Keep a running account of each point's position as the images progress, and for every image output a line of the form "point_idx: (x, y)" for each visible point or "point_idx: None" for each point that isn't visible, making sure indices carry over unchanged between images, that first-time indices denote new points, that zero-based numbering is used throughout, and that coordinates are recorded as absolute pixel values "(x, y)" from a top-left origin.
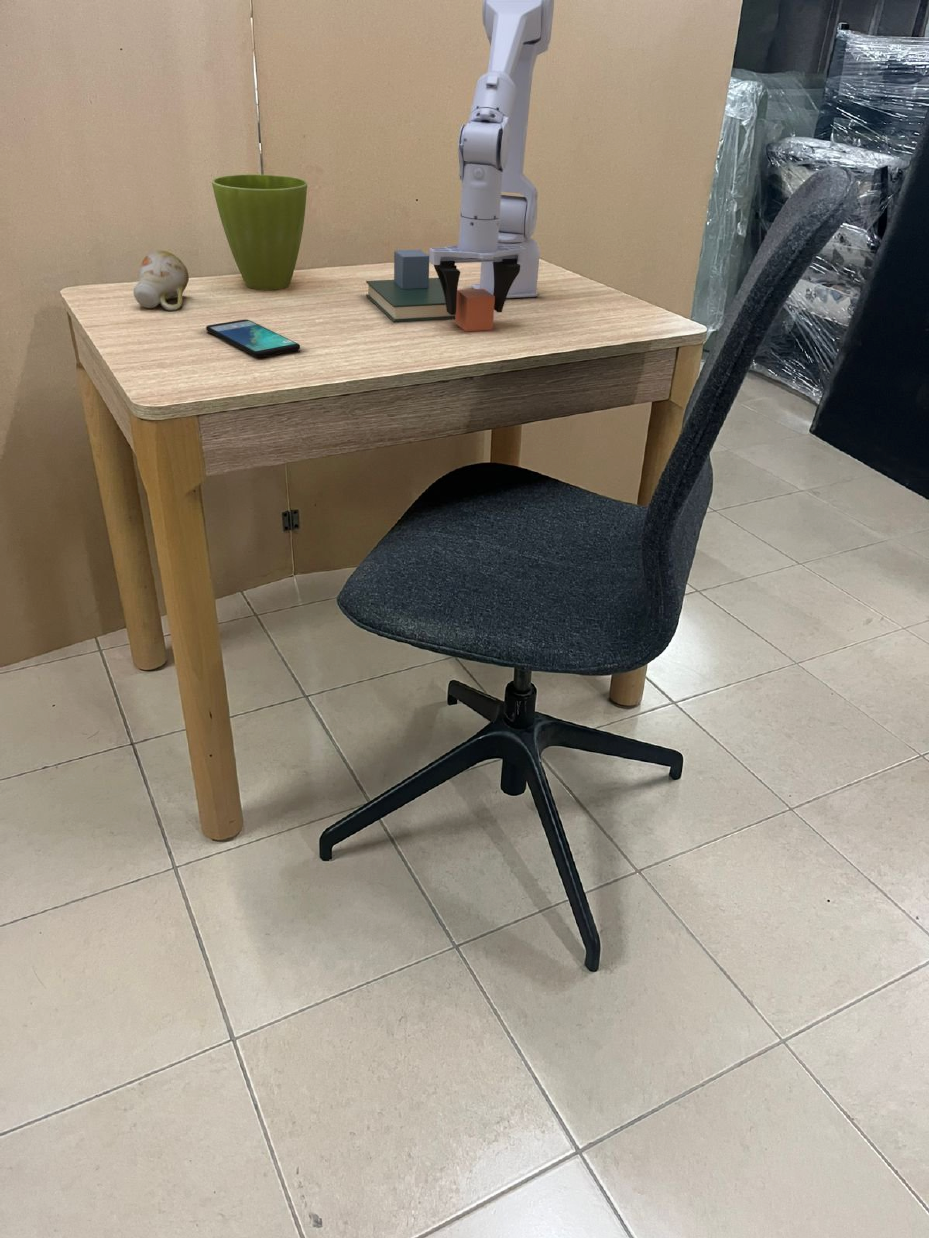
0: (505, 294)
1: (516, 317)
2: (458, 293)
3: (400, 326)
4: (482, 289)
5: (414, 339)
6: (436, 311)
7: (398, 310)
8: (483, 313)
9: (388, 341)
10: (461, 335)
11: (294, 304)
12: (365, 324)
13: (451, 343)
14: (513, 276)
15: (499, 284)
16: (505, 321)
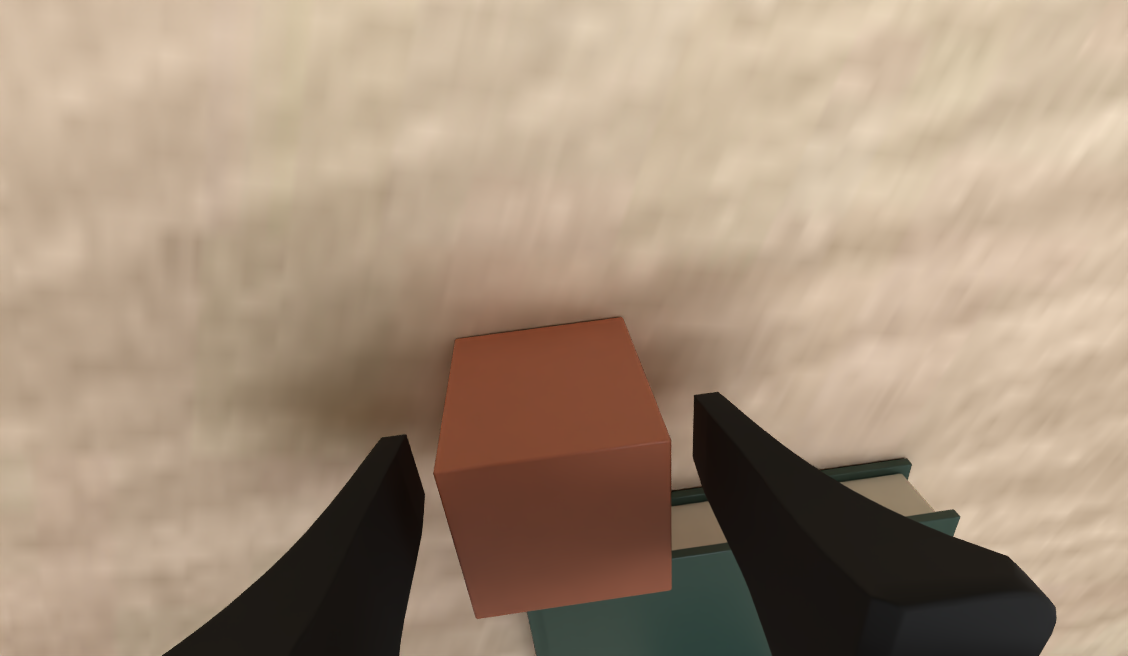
0: (334, 513)
1: (281, 519)
2: (668, 554)
3: (906, 408)
4: (489, 605)
5: (958, 205)
6: (708, 523)
7: (911, 507)
8: (521, 386)
9: (1111, 181)
10: (667, 257)
11: (1117, 627)
12: (1036, 437)
13: (790, 105)
14: (208, 642)
15: (367, 608)
16: (351, 467)
